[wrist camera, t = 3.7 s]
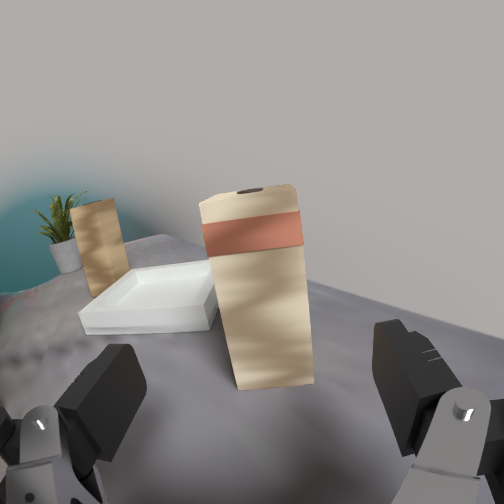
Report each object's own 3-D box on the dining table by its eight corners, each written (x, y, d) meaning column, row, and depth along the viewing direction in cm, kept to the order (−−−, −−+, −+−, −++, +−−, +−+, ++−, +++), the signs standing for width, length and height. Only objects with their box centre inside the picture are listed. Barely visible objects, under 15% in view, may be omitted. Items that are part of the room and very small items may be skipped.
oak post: (92, 297, 37) (69, 208, 33) (107, 285, 41) (87, 203, 38) (119, 295, 36) (96, 201, 33) (133, 282, 40) (113, 196, 37)
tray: (86, 334, 26) (78, 312, 25) (136, 286, 39) (131, 269, 38) (209, 330, 25) (203, 304, 24) (230, 276, 37) (227, 257, 37)
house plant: (120, 256, 59) (104, 177, 55) (73, 280, 46) (52, 187, 42) (79, 259, 63) (64, 191, 59) (35, 280, 51) (16, 202, 46)
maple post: (237, 390, 17) (197, 201, 14) (244, 349, 21) (215, 192, 18) (315, 383, 16) (296, 186, 14) (308, 342, 21) (290, 181, 18)
